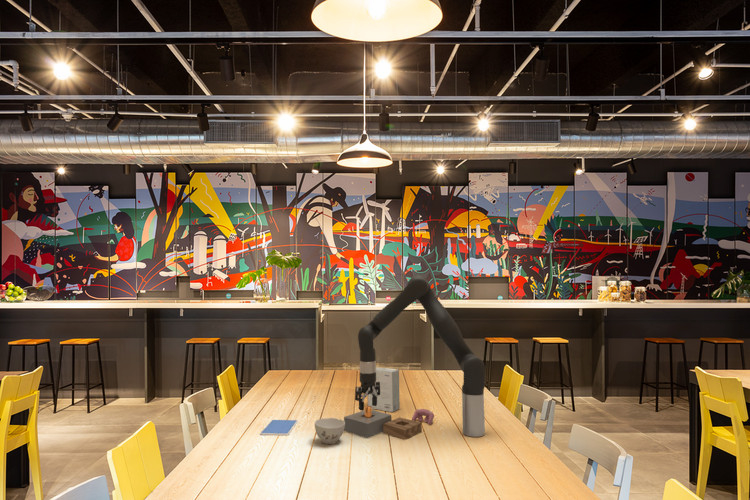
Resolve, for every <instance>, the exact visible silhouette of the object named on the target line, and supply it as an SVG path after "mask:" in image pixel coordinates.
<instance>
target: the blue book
mask: <svg viewBox="0 0 750 500" xmlns="http://www.w3.org/2000/svg"><path fill="white" fill-rule="evenodd" d="M298 422H299V421H298V420H297V419H288V420H287V419H272V420H270V422H269V423H268V424H267V425H266V426H265V428H263V429H262V431H260V433H259V435H260V436H276V437H277V436H281V437H283V436H289V435H290V433H291V432H292V431H293V429H294V427H295V426H296V425H297V424H298Z"/></svg>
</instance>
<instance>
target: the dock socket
mask: <svg viewBox="0 0 750 500" xmlns="http://www.w3.org/2000/svg"><path fill="white" fill-rule="evenodd" d="M343 420H344V421H345V427H344V431H343V432H347V433H350V434H353V435H355V436H359V437H362V438H365V439H370V438H372V437H374V436H377V435H380V434H383V424H384V423H386V422H389V421H392V414H389V413H385V412H382V411H378V410H375V409H371V418H365V409H364V410H363V411H362V410H360V411H358V412H355V413H352V414H349V415H346V416H344V417H343Z"/></svg>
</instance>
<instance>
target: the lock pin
mask: <svg viewBox="0 0 750 500" xmlns="http://www.w3.org/2000/svg"><path fill="white" fill-rule="evenodd" d="M364 410H365V418H371V410H372V409H371V406H368V405H364Z"/></svg>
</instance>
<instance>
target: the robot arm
mask: <svg viewBox="0 0 750 500" xmlns="http://www.w3.org/2000/svg"><path fill="white" fill-rule="evenodd" d="M416 301H418V302H419V304H421V306H422V307H423V310H424V311H425V313H426V315H427V318H428V320H429V322H430V324H431V325H432V328H433V330H434V331H435V333H436V334H437V335H438V337H439V338H440V339H441V340H442V342H443V343H444V344H445V345H446V347H447V348H448V349H449V350H450V351H451V353H452V354H453V356H454V358H455V360H456V361H457V362H456V363H457V364H458V365H459V367H460V369H461V371H462V372H463V383H462V386H461V398H462V399H461V400H462V402H461V403H462V404H461V408H462V409H461V411H462V415H461V417H462V420H461V421H462V434H463V435H465V436H467V437H472V438H479V437H483V436H485V433H486V432H485V431H486V427H485V418H486V417H485V397H484V393H485V392H484V390H485V387H486V386H485V385H486V367H485V363H484V361H483V360H482V359H481V358H480V357H478V356H477V355H476V354H475V353H474V352H473V351H472V349H471V348H470V347H469V346H468V344H467V342H466V341H465V340H464V338H463V334H462V333H461V331H460V328H459V326H458V324H457V323H456V321H455V320H454V319H453V317H452V316H451V314H450V313H449V312H448V310H447V309H446V307H444V305H443V303H441V302H440V300H439V299H438V297H437V296H436V294H435V293H434V291H433V289H432V288H431V285H430V283H429V282H428V280H427V278H426V277H424V275H419V274H417V275H413V276H411V278H409V280H408V281H407V284H406V286H405V287H404V288H403V289H402V291H401V292H400V293H399V294H398V295H397V296H396V297H395V298H394V299H393V300H391V301H390V302H389V303H388V304H386V306H384V307H382V309H381V310H380V311H379V312H378V313H377V314H375V316H374V317H373V318H372V320H371V321H369V323H367V324H366V325H365V326H363V327H361V328H360V329H359V331H358V332H357V333H358V334H357V341H358V348H359V367H358V369H359V383H360V386H355V390H354V391H355V394H354V395H355V397H354V400H355V402H356V401H357V402H358V409H359V410H360V411H363V410H365V399H366V398H368V395H369V394H371V395H372V396H373V397H372V405H373V406H377V397H378V395H380V382H377V381H376V367H377V361H376V358H377V357H376V353H377V352H376V349H375V347H374V340H375V339H376V338H377V337H378V336H379V335H380V334H381V333H382V332H383V330H384V329H386V328H387V327H388V326H389V325H390V324H391V323H392V322H394V320H396V318H397V317H398V316H399V315H400V314H401V313H402V312H403V311H405V310H406V308H408V307H409V306H410V305H411V304H413V303H414V302H416ZM377 390H378V392H377Z"/></svg>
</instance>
